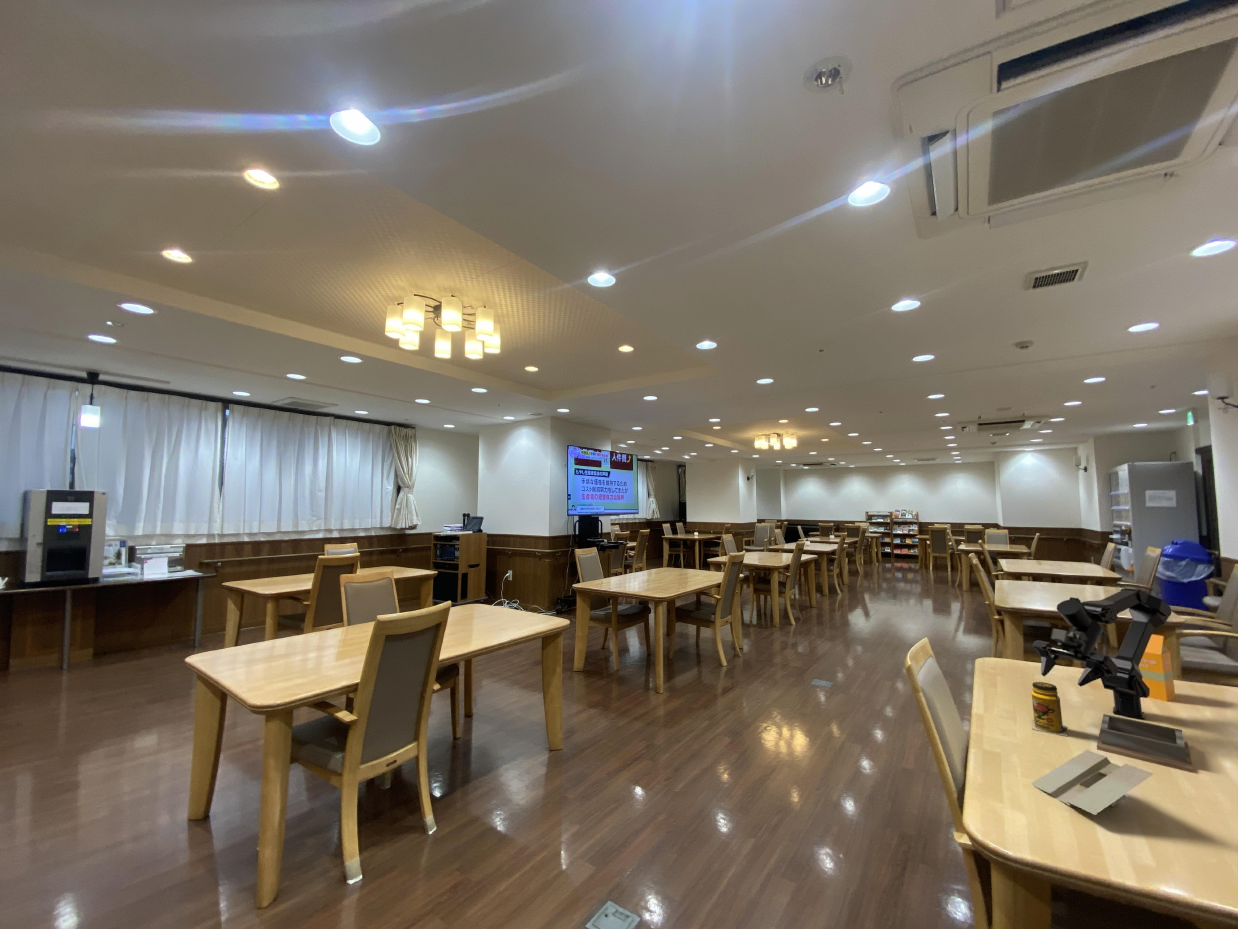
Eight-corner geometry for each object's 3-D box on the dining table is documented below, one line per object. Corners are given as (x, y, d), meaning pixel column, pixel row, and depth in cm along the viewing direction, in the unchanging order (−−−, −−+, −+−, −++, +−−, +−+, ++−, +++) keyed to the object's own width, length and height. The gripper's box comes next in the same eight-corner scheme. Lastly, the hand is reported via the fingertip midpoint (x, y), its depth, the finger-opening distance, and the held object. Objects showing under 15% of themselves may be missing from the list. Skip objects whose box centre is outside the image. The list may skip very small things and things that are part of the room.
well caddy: (1101, 726, 138) (1100, 710, 139) (1188, 745, 127) (1186, 727, 127) (1097, 749, 125) (1095, 731, 125) (1193, 772, 113) (1190, 753, 114)
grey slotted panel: (1136, 856, 91) (1183, 797, 93) (1094, 815, 93) (1142, 758, 95) (1063, 818, 107) (1105, 768, 109) (1029, 784, 109) (1071, 735, 111)
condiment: (1032, 729, 137) (1028, 684, 138) (1032, 720, 143) (1028, 677, 144) (1067, 737, 132) (1063, 690, 133) (1066, 727, 138) (1061, 682, 140)
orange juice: (1167, 701, 157) (1159, 637, 159) (1129, 693, 165) (1122, 631, 167) (1176, 697, 160) (1168, 634, 163) (1138, 689, 168) (1131, 629, 170)
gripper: (1033, 613, 153) (1010, 652, 149) (1106, 625, 135) (1082, 670, 131) (1053, 637, 154) (1031, 677, 150) (1129, 653, 136) (1106, 698, 132)
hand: (1060, 680), depth 141 cm, fingers open, 9 cm apart
